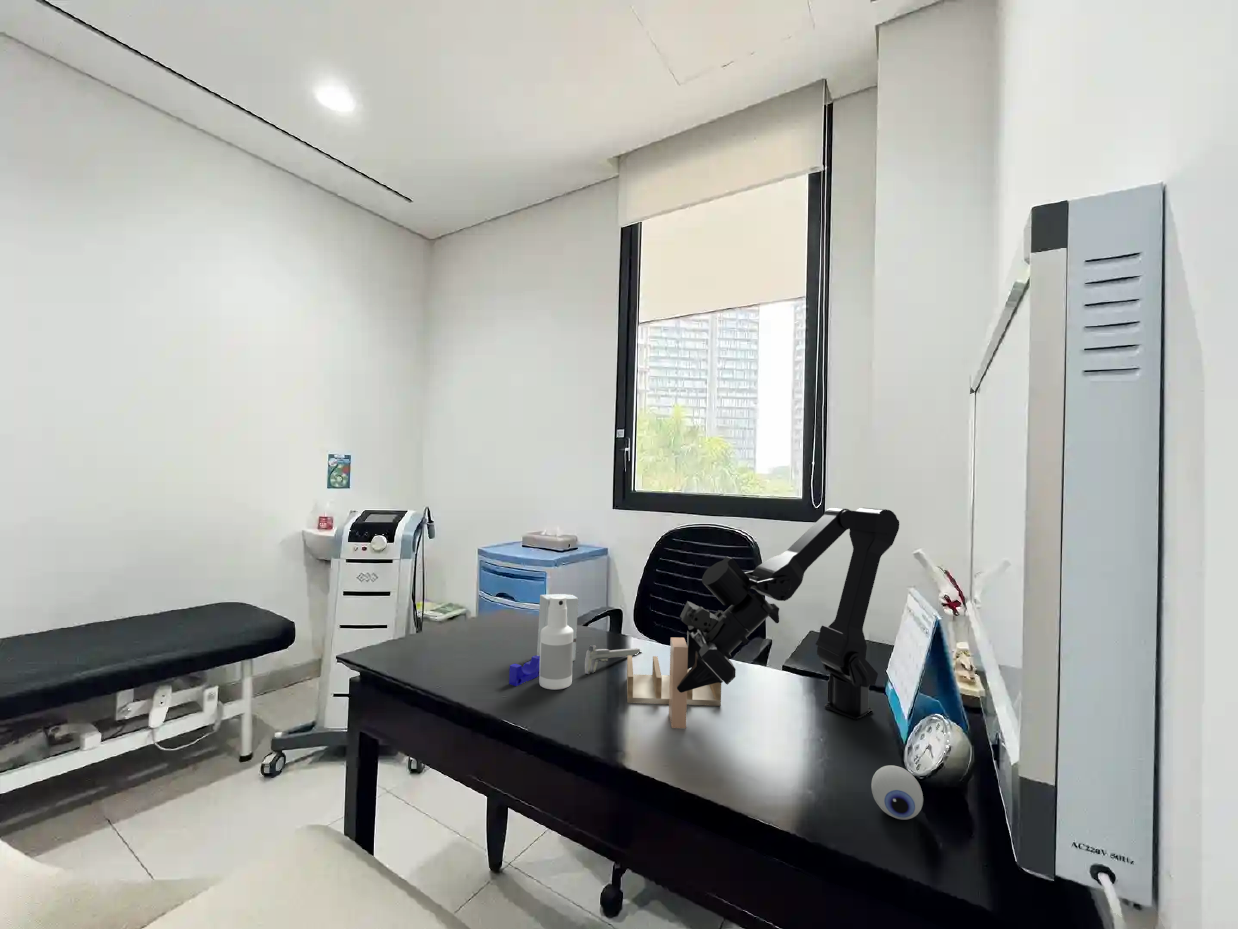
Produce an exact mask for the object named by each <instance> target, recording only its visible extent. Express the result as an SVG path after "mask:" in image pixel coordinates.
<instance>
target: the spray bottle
mask: <svg viewBox="0 0 1238 929" xmlns="http://www.w3.org/2000/svg"><path fill="white" fill-rule="evenodd" d="M572 681H573V629H572V628H571V627H569V626H568V625H567V607H566V596H562V595H561V596H559V597H552V596H551V597H550V605H549V610H548V625H547V626H546V627H544V628H543V629H542V630H541V638H540V669H539V677H538V684H539V686H540V687H542V688H544V689H545V690H546V689H547V690H555V691H556V690H563V689H567V688H568V687H570V686H571V685H572V683H573V682H572Z"/></svg>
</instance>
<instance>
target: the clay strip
mask: <svg viewBox="0 0 1238 929" xmlns="http://www.w3.org/2000/svg"><path fill="white" fill-rule="evenodd" d="M686 641H687V640H686V639H685V637H670V647H669V650H670V653H669V657H670V658H669V675H670V685H669V704H668V716H669V720H670V726H671V729H687V707H688V705H687V691H685V692H682V693H681V692H679V691H678V690H677V686H678V685H679V683H680V682H681V681H682V679H683V678H684V677H685V675H686V674H687V666H688V646H687V642H686Z"/></svg>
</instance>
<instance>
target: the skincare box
mask: <svg viewBox="0 0 1238 929" xmlns="http://www.w3.org/2000/svg"><path fill="white" fill-rule="evenodd" d="M561 595H562V596H566V607H567V625H568V626H569V627H571V628H572V629H573V661H576V653H577V650H576V649H577V633H578V632H577V630H578V629H577V628H578V615H579V614H578V611H579V598H578V597H577V596H575V595H574V594H572V593H551V594H550V593H549V594H548V593H547V594H540V595H539V609H538V610H539V611H538V628H537V629H538V630H537V631H538V632H537V650H536V655H537V656H540V638H541V630H542V629H543V628H544V627H546V626H547V625H548V610H549V605H550V597H551V596H552V597H559V596H561Z"/></svg>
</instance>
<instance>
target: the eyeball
mask: <svg viewBox="0 0 1238 929" xmlns="http://www.w3.org/2000/svg"><path fill="white" fill-rule="evenodd" d="M870 786H871V793H872V796H873V799H874V801H875V803H876V804H877V805H878V807H879V808H880V809H881V810H882V811H883V812H884V813H885V814H886V815H888V816H890V817H892V818H895V819H897V820H902V821H903V820H910V819H913V818H915V817H917V815H919V813H920V812H921V810H922V808H923V805H924V796H923V795H924V794H923V791H922V788H921V785H920V783H919V781H918V780H917V779H916V778H915V776H914V775H913V773H912V774H911V772H909V771H908V770H907V769H905V768H903V767H900V766H897V765H894V764H893V765H884V766H882V767H880V768H878V769H877V770H876V771H875V773H874V774H873V776H872V779H871V784H870Z"/></svg>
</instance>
